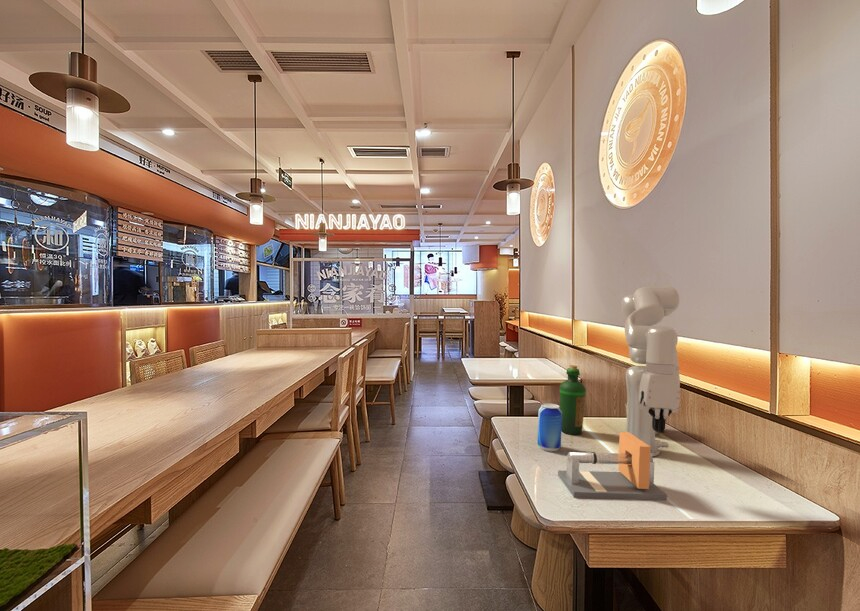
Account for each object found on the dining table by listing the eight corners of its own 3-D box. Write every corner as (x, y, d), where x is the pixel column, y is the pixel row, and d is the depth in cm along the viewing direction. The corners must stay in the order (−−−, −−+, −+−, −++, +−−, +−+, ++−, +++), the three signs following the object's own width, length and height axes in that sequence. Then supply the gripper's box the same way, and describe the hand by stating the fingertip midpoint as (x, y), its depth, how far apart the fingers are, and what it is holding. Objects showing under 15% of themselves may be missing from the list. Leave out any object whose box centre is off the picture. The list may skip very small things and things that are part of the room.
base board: (640, 477, 125) (640, 472, 125) (666, 499, 111) (666, 493, 111) (557, 475, 125) (558, 469, 125) (573, 497, 111) (574, 491, 111)
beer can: (557, 444, 152) (559, 403, 152) (563, 453, 144) (564, 409, 143) (535, 443, 153) (536, 402, 153) (539, 451, 145) (540, 407, 144)
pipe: (645, 479, 120) (646, 451, 120) (653, 486, 116) (654, 456, 116) (566, 477, 121) (567, 449, 120) (571, 484, 116) (572, 454, 116)
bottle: (588, 436, 162) (591, 368, 161) (562, 436, 162) (564, 367, 162) (579, 428, 173) (581, 364, 172) (554, 427, 173) (556, 363, 172)
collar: (627, 470, 124) (629, 432, 124) (648, 488, 112) (650, 446, 112) (618, 470, 124) (619, 432, 124) (638, 488, 112) (639, 446, 112)
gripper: (677, 368, 121) (675, 428, 121) (628, 366, 121) (626, 426, 121) (694, 372, 114) (692, 436, 114) (641, 370, 114) (639, 434, 114)
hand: (658, 431), depth 117 cm, fingers closed
